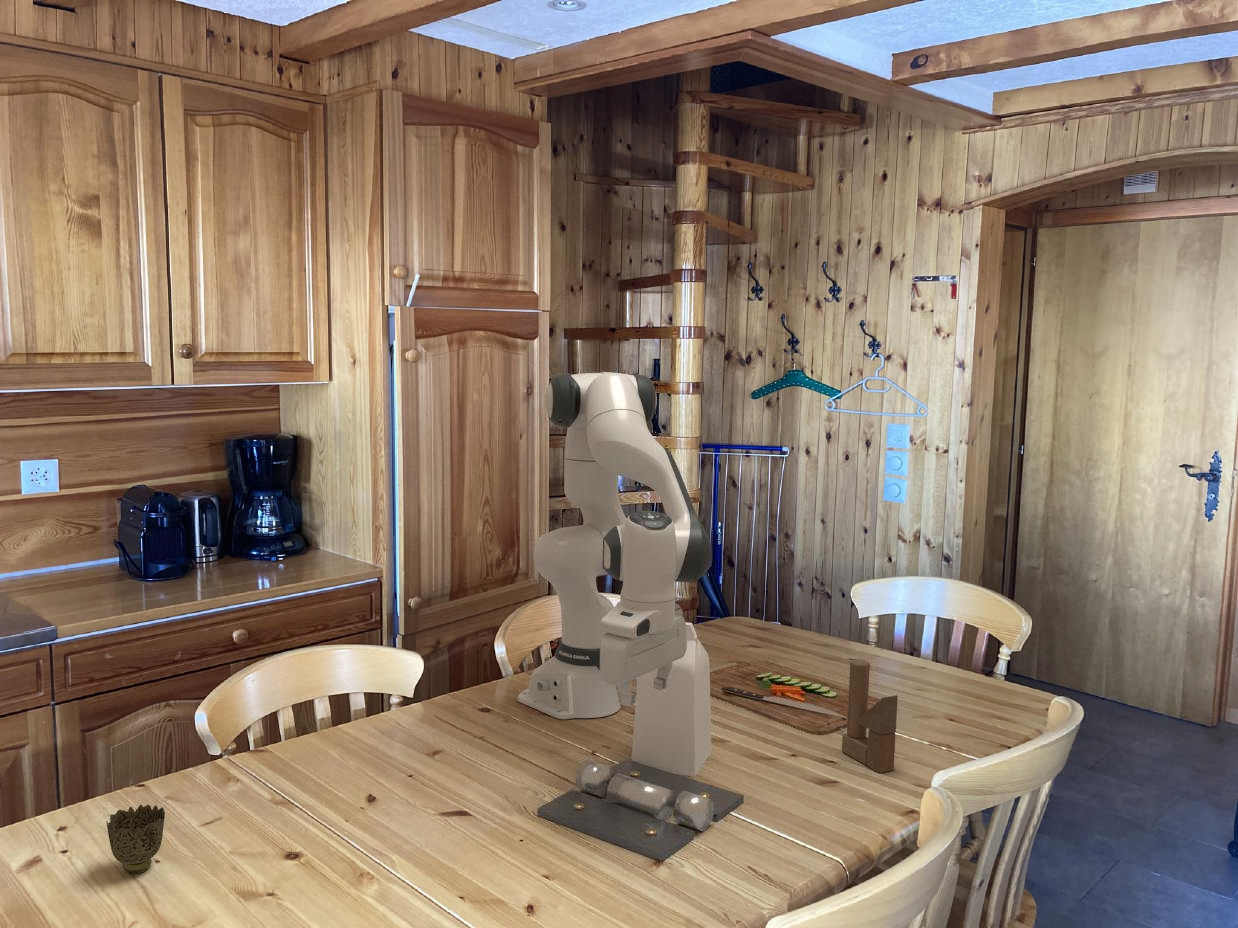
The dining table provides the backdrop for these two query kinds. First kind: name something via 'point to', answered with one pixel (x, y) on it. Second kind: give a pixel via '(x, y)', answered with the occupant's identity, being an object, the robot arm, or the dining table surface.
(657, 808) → the knuckle
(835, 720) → the chopping board
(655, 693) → the milk
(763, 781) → the dining table surface
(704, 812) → the hinge base
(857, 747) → the wooden block
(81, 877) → the dining table surface
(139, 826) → the cup
